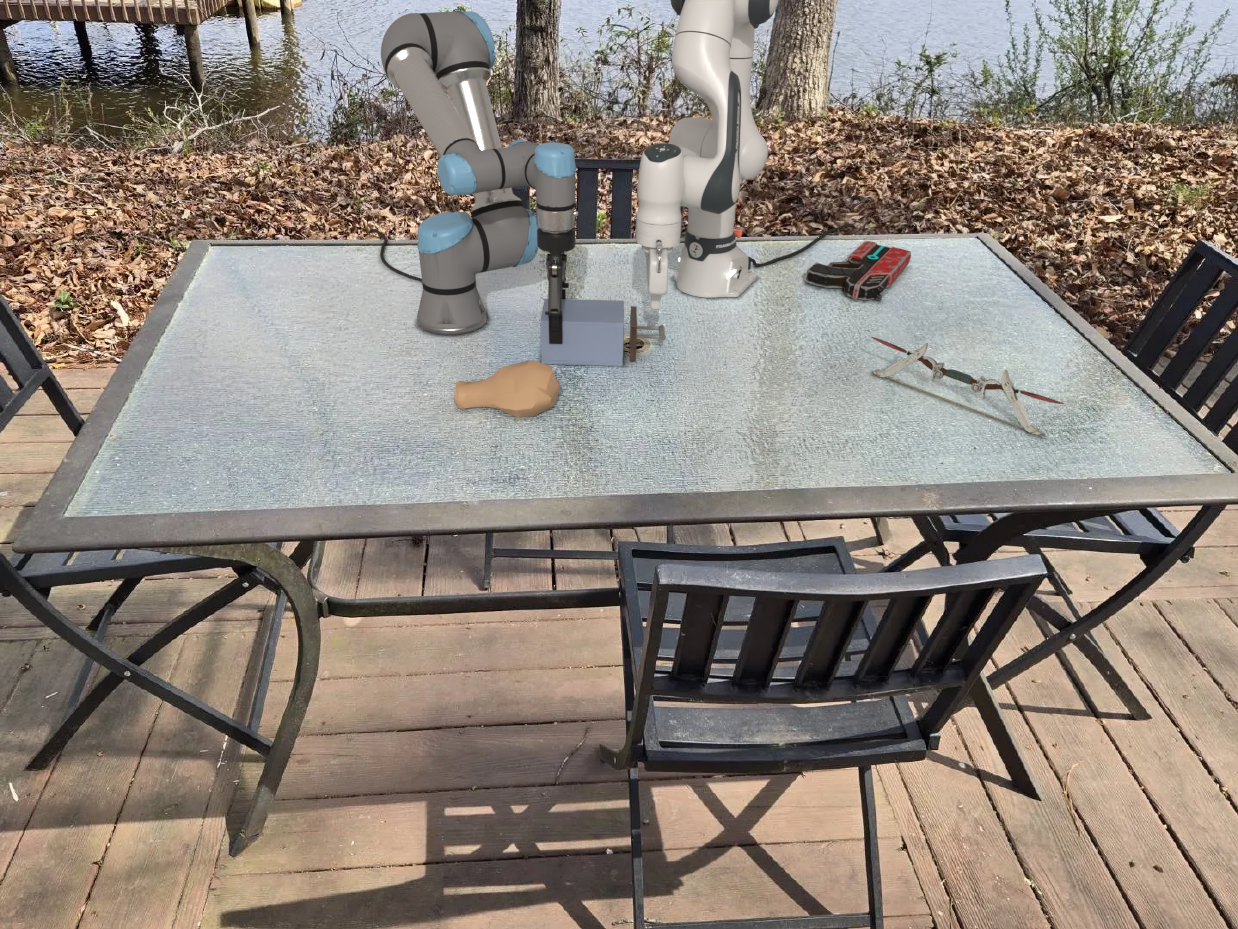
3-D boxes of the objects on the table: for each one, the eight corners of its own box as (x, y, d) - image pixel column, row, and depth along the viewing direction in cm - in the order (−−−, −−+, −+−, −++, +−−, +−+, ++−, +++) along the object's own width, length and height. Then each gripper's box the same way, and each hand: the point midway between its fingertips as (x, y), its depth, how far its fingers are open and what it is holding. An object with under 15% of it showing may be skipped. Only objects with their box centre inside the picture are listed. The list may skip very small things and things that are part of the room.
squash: (561, 423, 162) (553, 385, 155) (455, 431, 163) (443, 394, 157) (564, 386, 169) (557, 349, 163) (463, 394, 171) (452, 358, 165)
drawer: (662, 340, 190) (664, 306, 185) (664, 361, 181) (666, 327, 177) (563, 337, 189) (562, 304, 185) (560, 359, 181) (559, 324, 177)
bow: (1053, 437, 161) (1070, 389, 156) (1050, 441, 160) (1067, 393, 155) (866, 368, 183) (875, 324, 177) (862, 371, 182) (871, 326, 176)
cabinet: (622, 342, 191) (623, 300, 185) (622, 366, 181) (623, 323, 176) (545, 340, 190) (544, 298, 185) (541, 363, 181) (540, 320, 176)
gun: (803, 270, 216) (880, 289, 208) (845, 233, 238) (916, 249, 230) (800, 287, 219) (876, 306, 211) (842, 249, 240) (912, 265, 233)
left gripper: (572, 249, 161) (573, 356, 173) (577, 209, 181) (578, 307, 193) (531, 248, 161) (535, 355, 173) (541, 208, 181) (544, 306, 193)
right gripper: (677, 251, 163) (672, 320, 170) (671, 216, 180) (668, 280, 187) (643, 250, 163) (640, 319, 170) (641, 215, 180) (638, 279, 187)
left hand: (557, 330), depth 183 cm, fingers closed on cabinet, 11 cm apart
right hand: (654, 298), depth 179 cm, fingers open, 7 cm apart
